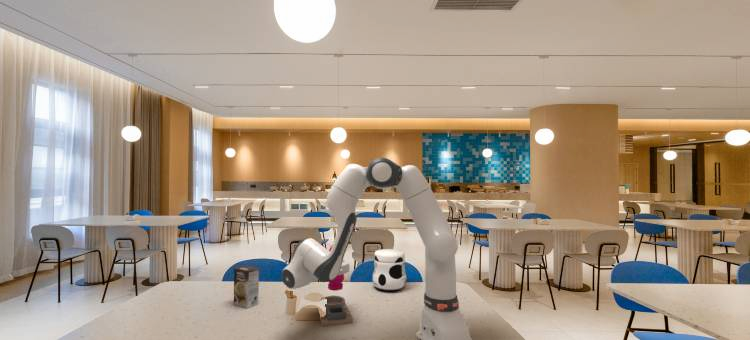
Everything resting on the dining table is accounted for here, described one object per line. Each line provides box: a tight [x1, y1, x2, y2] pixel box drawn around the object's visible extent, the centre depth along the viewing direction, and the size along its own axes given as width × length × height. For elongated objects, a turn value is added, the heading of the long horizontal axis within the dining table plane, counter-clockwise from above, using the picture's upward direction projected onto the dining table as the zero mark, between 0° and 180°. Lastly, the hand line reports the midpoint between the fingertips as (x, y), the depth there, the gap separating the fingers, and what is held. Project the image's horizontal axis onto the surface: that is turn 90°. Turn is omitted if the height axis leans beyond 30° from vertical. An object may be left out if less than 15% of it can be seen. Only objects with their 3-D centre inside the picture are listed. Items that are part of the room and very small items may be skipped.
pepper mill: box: [327, 244, 345, 291], centre depth 142 cm, size 7×7×20 cm
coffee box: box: [233, 265, 260, 309], centre depth 148 cm, size 9×6×16 cm
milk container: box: [372, 248, 408, 292], centre depth 170 cm, size 17×17×18 cm
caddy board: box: [319, 295, 354, 327], centre depth 138 cm, size 20×12×4 cm, turn 16°
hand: (337, 261), depth 143 cm, fingers closed on pepper mill, 5 cm apart
